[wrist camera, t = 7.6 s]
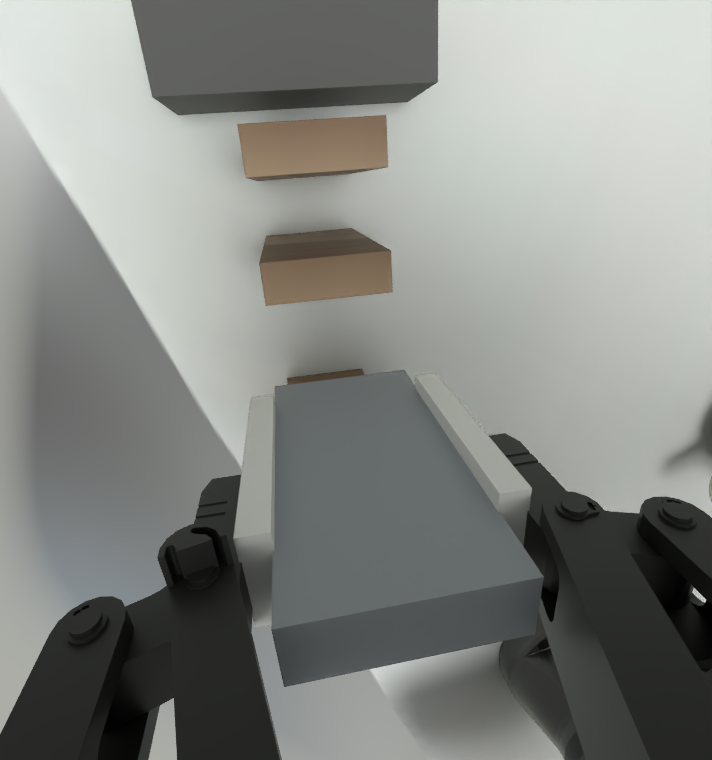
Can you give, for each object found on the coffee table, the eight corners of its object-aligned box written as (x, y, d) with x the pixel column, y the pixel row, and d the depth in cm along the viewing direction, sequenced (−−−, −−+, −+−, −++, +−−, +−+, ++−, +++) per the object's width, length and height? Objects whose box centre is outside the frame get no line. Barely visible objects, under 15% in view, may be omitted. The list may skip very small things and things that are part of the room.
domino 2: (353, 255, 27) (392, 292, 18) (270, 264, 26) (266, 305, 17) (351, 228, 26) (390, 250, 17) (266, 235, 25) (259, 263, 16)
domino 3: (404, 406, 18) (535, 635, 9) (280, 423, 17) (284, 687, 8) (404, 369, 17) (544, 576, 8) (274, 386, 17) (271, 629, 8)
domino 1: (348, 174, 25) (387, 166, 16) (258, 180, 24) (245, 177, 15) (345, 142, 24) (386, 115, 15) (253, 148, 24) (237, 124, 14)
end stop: (407, 101, 24) (437, 82, 19) (178, 114, 22) (152, 96, 18) (405, 8, 22) (438, -37, 18) (157, 16, 21) (124, -31, 16)
